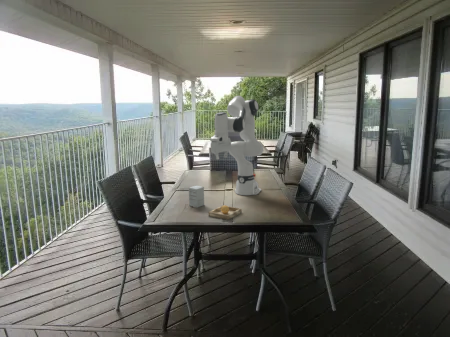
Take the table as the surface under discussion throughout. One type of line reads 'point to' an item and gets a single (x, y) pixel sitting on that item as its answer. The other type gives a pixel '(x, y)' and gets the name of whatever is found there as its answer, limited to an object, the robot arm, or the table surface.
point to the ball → (225, 209)
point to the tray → (227, 216)
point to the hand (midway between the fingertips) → (221, 158)
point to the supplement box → (196, 196)
